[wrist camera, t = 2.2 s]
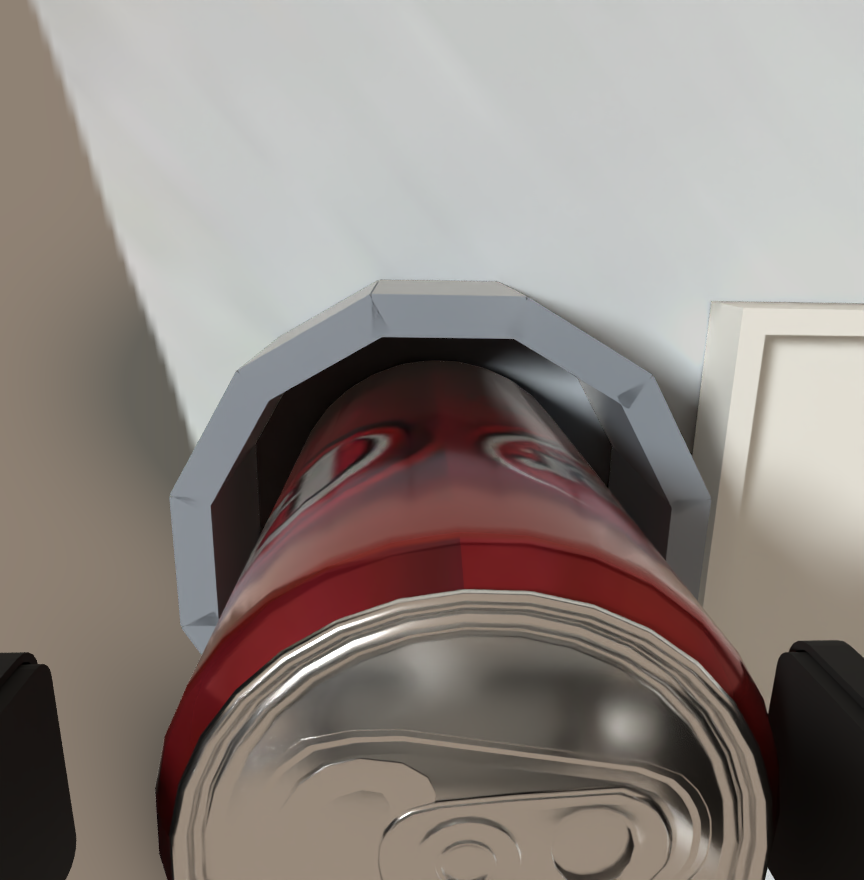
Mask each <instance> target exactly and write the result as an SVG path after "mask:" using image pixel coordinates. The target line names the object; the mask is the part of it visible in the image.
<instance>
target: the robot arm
mask: <svg viewBox="0 0 864 880" xmlns="http://www.w3.org/2000/svg"><path fill="white" fill-rule="evenodd" d="M768 717H769V721H770V725H771V728H772V732H773V736H774V740H775V744H776V748H777V753H778V759H779V791H780V815H779V819H778V824H777V828H776V833H775V837H774V842H773V846H772V850H771V855H770V859H769V864H768V869H769V870H770V872H771V874H772V876H773V877H774V879H775V880H864V657H862V656H861V655H860V654H859V653H858V652H857V651H856V650H855V649H854V648H853V647H851V646H850V645H849V644H847V643H846V642H844V641H840V640H811V641H797V642H795V643H793V645H792V646H791V647H790V649H789V652H785V653H782V654H781V655H780V657H779V659H778V662H777V666H776V672H775V678H774V683H773V689H772V694H771V700H770V706H769V711H768ZM75 850H76V832H75V826H74V819H73V812H72V806H71V800H70V793H69V787H68V780H67V773H66V767H65V760H64V754H63V747H62V741H61V734H60V728H59V721H58V715H57V708H56V702H55V695H54V689H53V682H52V676H51V672H50V669H49V668H48V666H46V665H45V664H37V660H36V658H35V657H34V655H33V654H30V653H28V652H27V653H25V652H24V653H0V880H65V879H66V878H67V876H68V874H69V871H70V869H71V866H72V863H73V859H74V856H75Z"/></svg>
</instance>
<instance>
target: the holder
mask: <svg viewBox="0 0 864 880" xmlns="http://www.w3.org/2000/svg"><path fill="white" fill-rule="evenodd" d="M381 337H420V338H494V339H515V340H517V341H518V342H520V343H522V344H523V345H525V346H527V347H528V348H530V349H532V350H533V351H535V352H536V353H538V354H540V355H541V356H543V357H545V358H546V359H548V360H550V361H551V362H553V363H554V364H556V365H558V366H559V367H561V368H563V369H564V370H566V371H568V372H569V373H571V374H572V375H574V376H576V377H577V378H578V380H579V382H580V384H581V386H582V388H583V390H584V392H585V394H586V396H587V398H588V400H589V402H590V404H591V406H592V408H593V410H594V412H595V414H596V416H597V418H598V420H599V422H600V424H601V426H602V427H603V429H604V431H605V433H606V435H607V437H608V439H609V441H610V443H611V445H612V451H611V462H610V473H609V484H608V489H609V490H610V491H611V493H612V494H613V495H614V496H615V498H616V499H617V500H618V502H619V503H620V504H621V505H622V507H623V508H624V509H625V510H626V512H627V513H628V514H629V515H630V517H631V518H632V519H633V520H634V522H635V523H636V524H637V525H638V527H639V528H640V529H641V530H642V532H643V533H644V534H645V535H646V537H647V538H648V539H649V541H650V542H651V543H652V544H653V546H654V547H655V548H656V549H657V551H658V552H659V553H660V554H661V556H662V557H663V558H664V559H665V561H666V562H667V563H668V564H669V566H670V567H671V568H672V569H673V571H674V572H675V573H676V574H677V576H678V577H679V578H680V580H681V581H682V582H683V583H684V585H685V586H686V587H687V588H688V590H689V591H690V592H691V593H692V595H693V596H694V597H695V598H696V600H697V601H698V597H699V589H700V582H701V574H702V567H703V559H704V552H705V544H706V537H707V529H708V522H709V514H710V506H711V499H710V498H711V496H710V494H709V492H708V490H707V488H706V486H705V484H704V481H703V479H702V477H701V475H700V473H699V471H698V469H697V467H696V464H695V462H694V460H693V458H692V456H691V454H690V452H689V450H688V447H687V445H686V443H685V441H684V439H683V437H682V435H681V433H680V430H679V428H678V426H677V424H676V422H675V420H674V418H673V416H672V413H671V411H670V409H669V407H668V405H667V403H666V401H665V399H664V396H663V394H662V392H661V390H660V388H659V386H658V384H657V382H656V379H655V377H654V376H653V375H652V374H651V373H649V372H648V371H646V370H644V369H643V368H641V367H640V366H638V365H636V364H635V363H633V362H632V361H630V360H628V359H627V358H625V357H624V356H622V355H620V354H619V353H617V352H616V351H614V350H612V349H611V348H609V347H608V346H606V345H604V344H603V343H601V342H600V341H598V340H596V339H595V338H593V337H592V336H590V335H588V334H587V333H585V332H584V331H582V330H580V329H579V328H577V327H576V326H574V325H572V324H571V323H569V322H568V321H566V320H564V319H563V318H561V317H560V316H558V315H556V314H555V313H553V312H552V311H550V310H548V309H547V308H545V307H544V306H542V305H540V304H539V303H537V302H536V301H534V300H532V299H531V298H529V297H527V296H526V295H524V294H522V293H520V292H518V291H516V290H514V289H512V288H510V287H508V286H506V285H504V284H502V283H500V282H497V281H440V280H380V281H379V280H377V281H376V282H374V283H372V284H370V285H369V286H367V287H365V288H363V289H362V290H360V291H358V292H357V293H355V294H353V295H351V296H350V297H348V298H346V299H344V300H343V301H341V302H339V303H337V304H336V305H334V306H332V307H330V308H329V309H327V310H325V311H323V312H322V313H320V314H318V315H316V316H315V317H313V318H311V319H309V320H308V321H306V322H304V323H302V324H301V325H299V326H297V327H296V328H294V329H292V330H290V331H289V332H287V333H285V334H283V335H282V336H280V337H278V338H277V339H276V340H274V341H273V342H272V343H271V344H269V345H268V346H267V347H266V348H264V349H263V350H262V351H261V352H259V353H258V354H257V355H256V356H254V357H253V358H252V359H251V360H249V361H248V362H247V363H245V364H244V365H243V366H242V367H240V368H239V369H238V370H237V371H236V372H235V374H234V376H233V378H232V380H231V382H230V384H229V385H228V387H227V389H226V391H225V393H224V395H223V397H222V398H221V400H220V402H219V404H218V406H217V408H216V410H215V412H214V413H213V415H212V417H211V419H210V421H209V423H208V425H207V426H206V428H205V430H204V432H203V434H202V436H201V438H200V439H199V441H198V443H197V445H196V447H195V449H194V451H193V453H192V454H191V456H190V458H189V460H188V462H187V464H186V466H185V467H184V469H183V471H182V473H181V475H180V477H179V479H178V481H177V482H176V484H175V486H174V488H173V490H172V492H171V494H170V495H171V496H170V508H171V520H172V532H173V542H174V555H175V566H176V577H177V588H178V600H179V612H180V623H181V626H182V629H183V631H184V632H185V633H186V635H187V636H188V637H189V639H190V640H191V641H192V643H193V644H194V645H195V647H196V648H197V649H198V651H199V652H200V654H201V655H202V654H203V652H204V650H205V647H206V645H207V643H208V641H209V639H210V637H211V635H212V633H213V631H214V629H215V627H216V625H217V623H218V621H219V619H220V617H221V615H222V613H223V611H224V609H225V607H226V604H227V602H228V600H229V598H230V596H231V594H232V592H233V590H234V588H235V586H236V584H237V582H238V580H239V578H240V576H241V574H242V572H243V570H244V568H245V566H246V564H247V561H248V559H249V557H250V555H251V553H252V551H253V549H254V547H255V545H256V543H257V541H258V539H259V537H260V535H261V533H260V515H259V496H258V476H257V457H256V442H257V440H258V439H259V437H260V435H261V433H262V431H263V430H264V428H265V426H266V424H267V422H268V421H269V419H270V417H271V415H272V414H273V412H274V410H275V408H276V406H277V405H278V403H279V401H280V399H281V397H282V396H283V394H284V392H285V391H287V390H289V389H290V388H292V387H294V386H296V385H298V384H299V383H301V382H303V381H305V380H306V379H308V378H310V377H312V376H314V375H315V374H317V373H319V372H321V371H322V370H324V369H326V368H328V367H329V366H331V365H333V364H335V363H337V362H338V361H340V360H342V359H344V358H345V357H347V356H349V355H351V354H353V353H354V352H356V351H358V350H360V349H361V348H363V347H365V346H367V345H368V344H370V343H372V342H374V341H376V340H377V339H379V338H381Z"/></svg>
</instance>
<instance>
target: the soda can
mask: <svg viewBox="0 0 864 880" xmlns="http://www.w3.org/2000/svg"><path fill="white" fill-rule="evenodd" d="M155 797H156V813H157V827H158V843H159V855H160V858H161V861H162V864H163V868H164V871H165V874H166V877H167V880H765V877H766V872H767V868H768V864H769V859H770V855H771V850H772V846H773V842H774V837H775V833H776V828H777V824H778V819H779V815H780V791H779V759H778V753H777V748H776V744H775V740H774V736H773V732H772V728H771V725H770V721H769V717H768V713H767V709H766V705H765V702H764V699H763V697H762V695H761V693H760V691H759V689H758V688H757V686H756V684H755V682H754V680H753V678H752V677H751V675H750V673H749V671H748V669H747V667H746V665H745V664H744V662H743V660H742V658H741V656H740V654H739V653H738V651H737V650H736V649H735V647H734V646H733V645H732V644H731V642H730V641H729V640H728V639H727V637H726V636H725V635H724V634H723V632H722V631H721V630H720V629H719V627H718V626H717V625H716V624H715V622H714V621H713V620H712V619H711V617H710V616H709V615H708V613H707V612H706V611H705V610H704V608H703V607H702V606H701V605H700V603H699V602H698V601H697V600H696V598H695V597H694V596H693V595H692V593H691V592H690V591H689V590H688V588H687V587H686V586H685V585H684V583H683V582H682V581H681V580H680V578H679V577H678V576H677V574H676V573H675V572H674V571H673V569H672V568H671V567H670V566H669V564H668V563H667V562H666V561H665V559H664V558H663V557H662V556H661V554H660V553H659V552H658V551H657V549H656V548H655V547H654V546H653V544H652V543H651V542H650V541H649V539H648V538H647V537H646V535H645V534H644V533H643V532H642V530H641V529H640V528H639V527H638V525H637V524H636V523H635V522H634V520H633V519H632V518H631V517H630V515H629V514H628V513H627V512H626V510H625V509H624V508H623V507H622V505H621V504H620V503H619V502H618V500H617V499H616V498H615V496H614V495H613V494H612V493H611V491H610V490H609V489H608V488H607V486H606V485H605V484H604V483H603V481H602V480H601V479H600V478H599V476H598V475H597V474H596V473H595V471H594V470H593V469H592V468H591V466H590V465H589V464H588V463H587V461H586V460H585V459H584V457H583V456H582V455H581V454H580V452H579V451H578V450H577V449H576V447H575V446H574V445H573V444H572V442H571V441H570V440H569V439H568V437H567V436H566V435H565V434H564V432H563V431H562V430H561V429H560V427H559V426H558V425H557V424H556V422H555V421H554V420H553V418H552V417H551V416H550V415H549V414H548V413H547V412H546V410H545V409H544V408H543V407H542V406H541V405H540V404H539V403H538V401H537V400H536V399H535V398H534V397H533V396H532V395H530V394H529V393H528V392H526V391H525V390H524V389H522V388H521V387H520V386H518V385H517V384H515V383H514V382H513V381H511V380H509V379H507V378H505V377H503V376H501V375H499V374H497V373H494V372H492V371H490V370H488V369H486V368H482V367H478V366H474V365H470V364H466V363H462V362H458V361H436V360H426V361H420V362H413V363H407V364H400V365H397V366H395V367H392V368H389V369H386V370H384V371H381V372H378V373H375V374H373V375H371V376H369V377H368V378H366V379H364V380H363V381H361V382H359V383H358V384H356V385H354V386H353V387H351V388H349V389H348V390H347V391H346V392H345V393H344V394H342V395H341V396H340V397H339V398H338V399H337V400H336V401H335V402H334V403H333V404H332V405H330V406H329V407H328V408H327V410H326V411H325V412H324V414H323V415H322V417H321V418H320V419H319V421H318V422H317V424H316V425H315V426H314V428H313V429H312V430H311V432H310V435H309V437H308V439H307V441H306V443H305V445H304V447H303V449H302V451H301V453H300V455H299V457H298V459H297V461H296V463H295V465H294V467H293V469H292V471H291V473H290V475H289V478H288V480H287V482H286V484H285V486H284V488H283V490H282V492H281V494H280V496H279V498H278V500H277V502H276V504H275V506H274V508H273V510H272V512H271V514H270V516H269V518H268V521H267V523H266V525H265V527H264V529H263V531H262V533H261V535H260V537H259V539H258V541H257V543H256V545H255V547H254V549H253V551H252V553H251V555H250V557H249V559H248V561H247V564H246V566H245V568H244V570H243V572H242V574H241V576H240V578H239V580H238V582H237V584H236V586H235V588H234V590H233V592H232V594H231V596H230V598H229V600H228V602H227V604H226V607H225V609H224V611H223V613H222V615H221V617H220V619H219V621H218V623H217V625H216V627H215V629H214V631H213V633H212V635H211V637H210V639H209V641H208V643H207V645H206V647H205V650H204V652H203V654H202V656H201V658H200V660H199V662H198V664H197V666H196V668H195V670H194V672H193V674H192V676H191V678H190V681H189V682H188V684H187V687H186V689H185V691H184V693H183V696H182V698H181V700H180V702H179V705H178V707H177V709H176V712H175V714H174V716H173V718H172V721H171V723H170V725H169V727H168V730H167V732H166V734H165V736H164V742H163V747H162V752H161V758H160V764H159V769H158V775H157V781H156V786H155Z"/></svg>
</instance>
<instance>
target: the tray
mask: <svg viewBox="0 0 864 880" xmlns="http://www.w3.org/2000/svg"><path fill="white" fill-rule="evenodd" d="M692 458H693V460H694V462H695V464H696V467H697V469H698V471H699V473H700V475H701V477H702V479H703V481H704V484H705V486H706V488H707V490H708V492H709V494H710V496H711V498H710V499H711V506H710V514H709V522H708V529H707V537H706V544H705V552H704V559H703V567H702V574H701V582H700V589H699V597H698V602H699V603H700V605H701V606H702V607H703V608H704V610H705V611H706V612H707V613H708V615H709V616H710V617H711V619H712V620H713V621H714V622H715V624H716V625H717V626H718V627H719V629H720V630H721V631H722V632H723V634H724V635H725V636H726V637H727V639H728V640H729V641H730V642H731V644H732V645H733V646H734V647H735V649H736V650H737V651H738V653H739V654H740V656H741V658H742V660H743V662H744V664H745V665H746V667H747V669H748V671H749V673H750V675H751V677H752V678H753V680H754V682H755V684H756V686H757V688H758V689H759V691H760V693H761V695H762V697H763V699H764V702H765V705H766V709H767V713H768V711H769V706H770V700H771V694H772V689H773V683H774V678H775V672H776V666H777V662H778V659H779V657H780V655H781V654H782V653H785V652H789V649H790V647H791V646H792V645H793V643H795V642H797V641H811V640H840V641H844V642H846V643H847V644H849V645H850V646H851V647H853V648H854V649H855V650H856V651H857V652H858V653H859V654H860V655H861V656H862V657H864V304H862V303H798V302H734V301H711V308H710V316H709V324H708V332H707V340H706V349H705V357H704V365H703V373H702V381H701V389H700V397H699V405H698V414H697V422H696V430H695V438H694V446H693V454H692Z"/></svg>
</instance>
